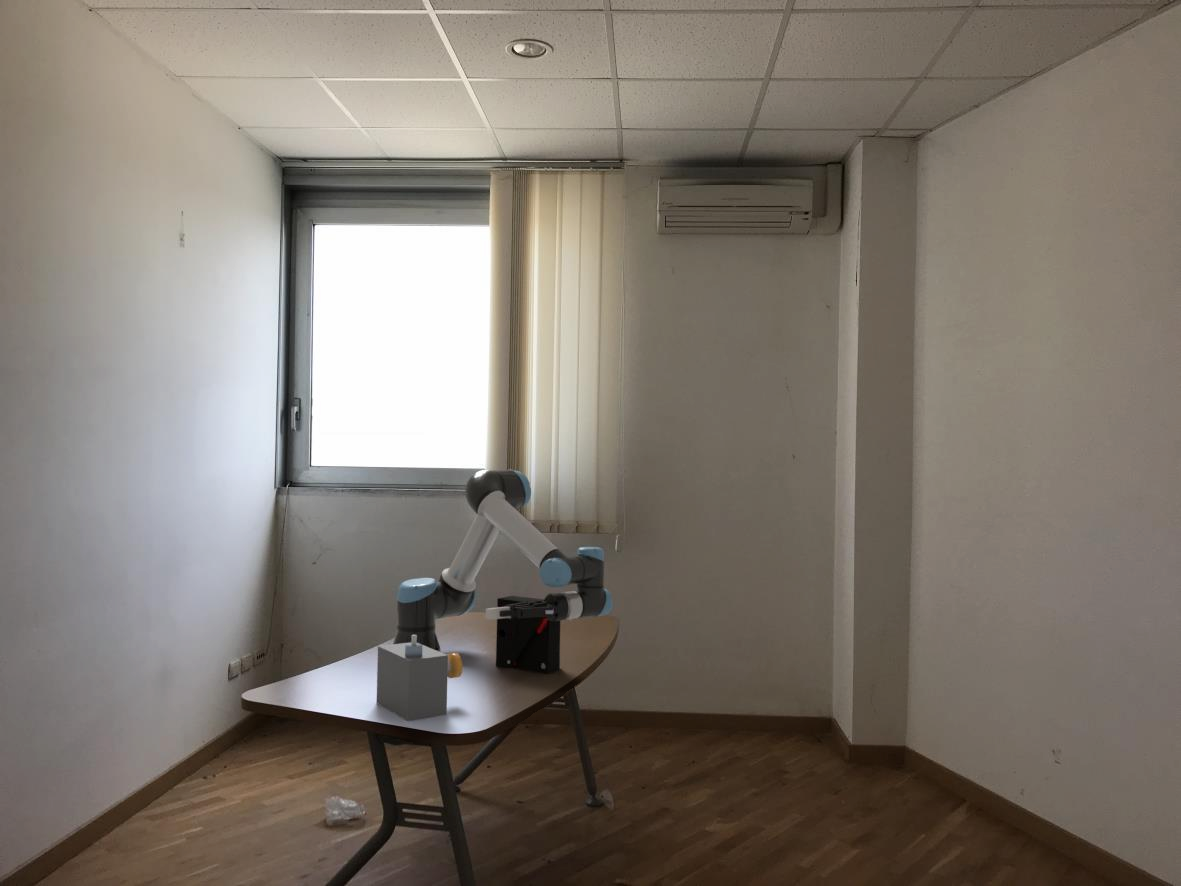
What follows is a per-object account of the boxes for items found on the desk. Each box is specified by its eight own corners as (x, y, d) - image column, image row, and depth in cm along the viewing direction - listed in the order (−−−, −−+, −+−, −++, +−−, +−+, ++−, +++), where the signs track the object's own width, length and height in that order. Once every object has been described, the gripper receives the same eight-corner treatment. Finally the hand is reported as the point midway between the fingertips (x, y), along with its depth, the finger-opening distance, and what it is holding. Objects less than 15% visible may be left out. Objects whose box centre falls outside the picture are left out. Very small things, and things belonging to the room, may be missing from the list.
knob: (422, 678, 217) (423, 654, 217) (450, 674, 221) (451, 650, 221) (433, 683, 212) (434, 659, 212) (462, 679, 217) (462, 655, 217)
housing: (376, 702, 216) (378, 646, 216) (413, 696, 222) (415, 641, 222) (407, 721, 201) (409, 660, 202) (446, 714, 207) (447, 655, 208)
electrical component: (563, 668, 255) (564, 600, 256) (544, 675, 247) (545, 604, 247) (514, 660, 264) (516, 594, 265) (494, 667, 256) (496, 598, 256)
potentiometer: (402, 654, 207) (402, 634, 207) (417, 652, 209) (418, 632, 209) (409, 658, 204) (410, 637, 204) (425, 656, 206) (425, 635, 206)
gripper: (575, 623, 233) (499, 632, 219) (548, 616, 243) (474, 625, 229) (576, 595, 233) (500, 602, 219) (548, 589, 243) (474, 596, 229)
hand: (487, 614), depth 224 cm, fingers closed
